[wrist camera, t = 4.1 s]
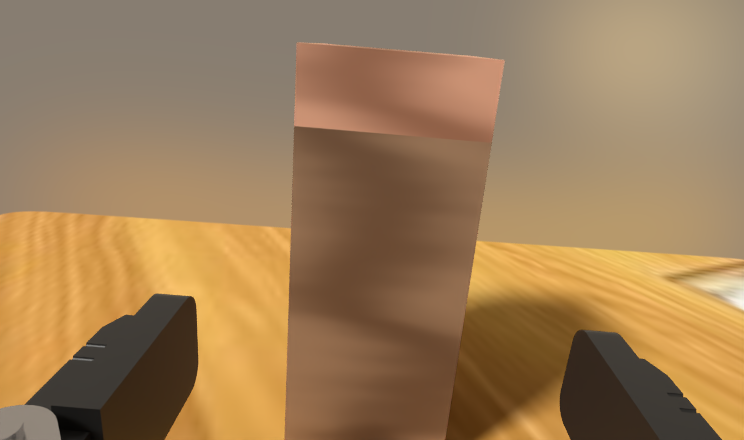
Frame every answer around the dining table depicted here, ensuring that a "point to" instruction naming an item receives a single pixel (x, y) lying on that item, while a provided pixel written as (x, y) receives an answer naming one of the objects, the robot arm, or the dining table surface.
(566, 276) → the dining table surface
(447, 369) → the walnut block
